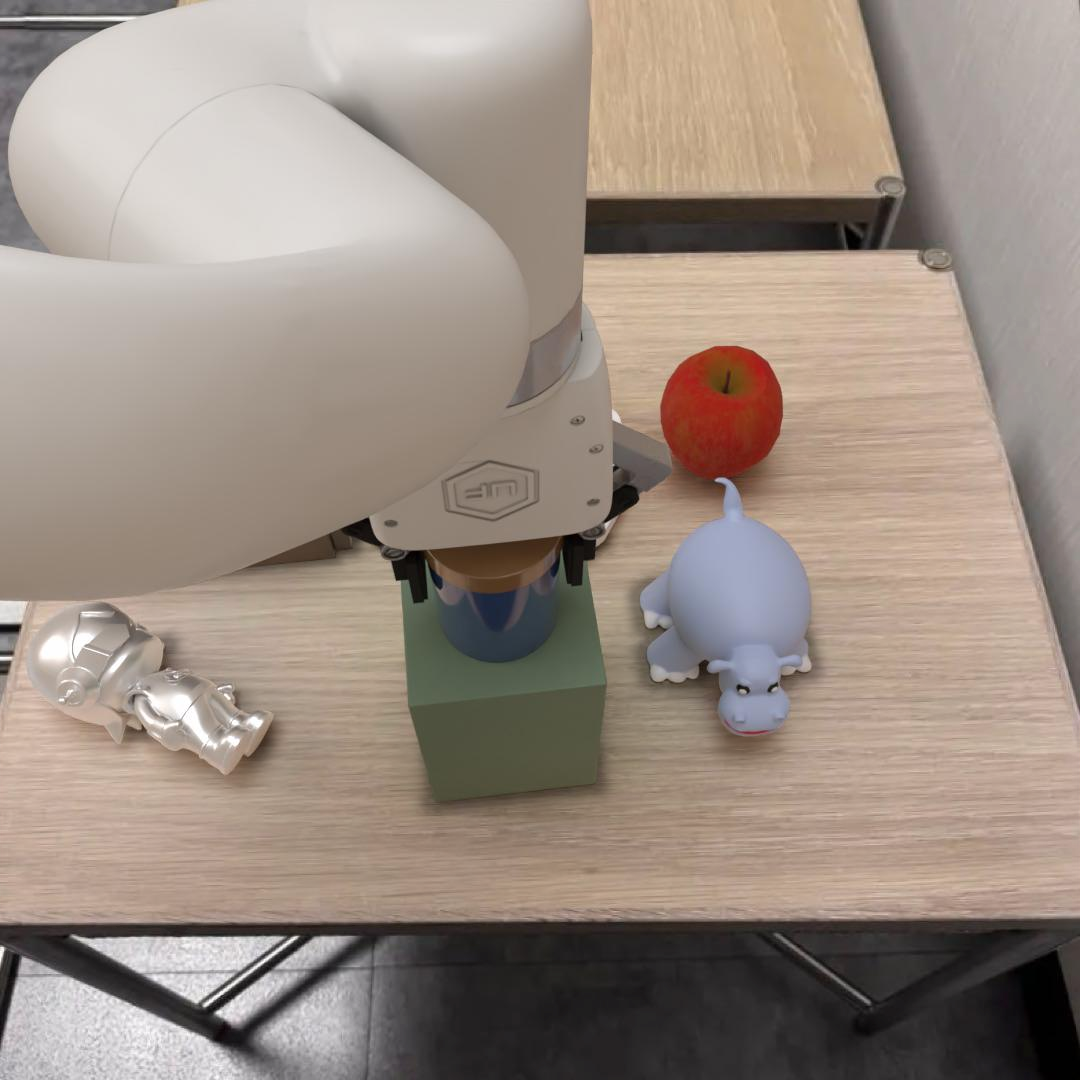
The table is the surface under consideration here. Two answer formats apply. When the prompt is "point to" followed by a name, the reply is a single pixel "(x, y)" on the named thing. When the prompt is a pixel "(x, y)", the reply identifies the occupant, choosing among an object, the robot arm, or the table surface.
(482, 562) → the jar
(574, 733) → the stand
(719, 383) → the apple
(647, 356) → the table surface
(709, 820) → the table surface
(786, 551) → the hippopotamus toy
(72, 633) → the figurine
